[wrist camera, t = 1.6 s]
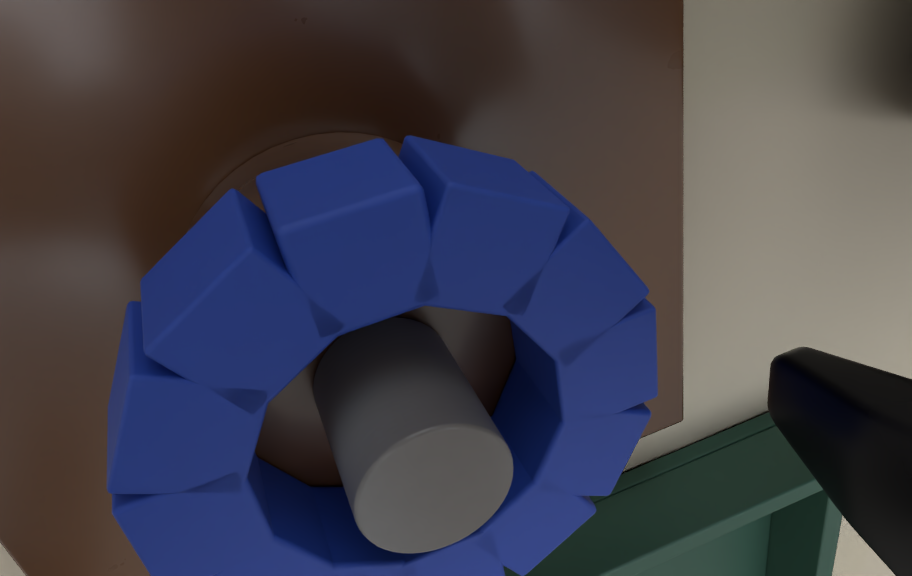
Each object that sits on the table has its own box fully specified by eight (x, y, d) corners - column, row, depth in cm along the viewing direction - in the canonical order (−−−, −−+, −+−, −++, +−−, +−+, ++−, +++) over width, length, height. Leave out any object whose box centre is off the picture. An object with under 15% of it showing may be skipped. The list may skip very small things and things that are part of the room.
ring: (221, 618, 12) (233, 711, 11) (8, 246, 8) (-11, 321, 7) (611, 455, 14) (662, 521, 13) (584, 72, 10) (654, 110, 9)
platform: (94, 618, 17) (84, 980, 12) (-407, -71, 9) (-1121, 84, 4) (657, 392, 20) (853, 601, 15) (640, -281, 12) (1051, -357, 7)
